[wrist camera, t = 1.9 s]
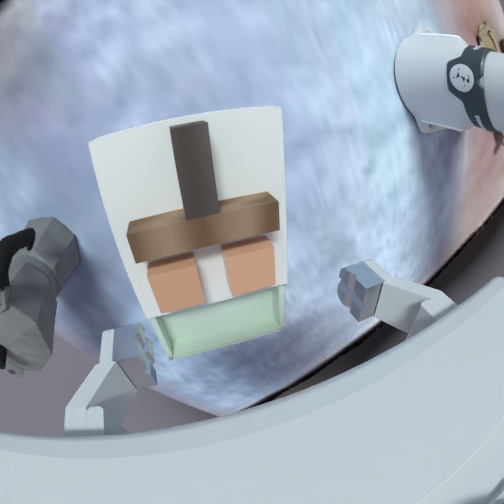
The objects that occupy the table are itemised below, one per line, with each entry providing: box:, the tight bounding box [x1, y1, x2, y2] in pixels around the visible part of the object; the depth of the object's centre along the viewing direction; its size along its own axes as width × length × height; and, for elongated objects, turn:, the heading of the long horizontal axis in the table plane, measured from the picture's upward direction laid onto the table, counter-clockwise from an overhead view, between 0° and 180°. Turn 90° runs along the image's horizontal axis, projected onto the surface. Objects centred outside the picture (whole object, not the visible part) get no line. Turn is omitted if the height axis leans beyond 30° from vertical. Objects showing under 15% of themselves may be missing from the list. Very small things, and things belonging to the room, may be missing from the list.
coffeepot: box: [0, 218, 80, 377], centre depth 19 cm, size 15×9×18 cm, turn 151°
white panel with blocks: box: [88, 106, 287, 319], centre depth 29 cm, size 18×21×4 cm
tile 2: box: [147, 252, 205, 314], centre depth 28 cm, size 5×5×2 cm
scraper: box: [126, 120, 280, 264], centre depth 23 cm, size 14×11×3 cm
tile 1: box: [221, 235, 276, 296], centre depth 30 cm, size 5×5×2 cm
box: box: [149, 284, 285, 360], centre depth 38 cm, size 18×10×4 cm, turn 95°
